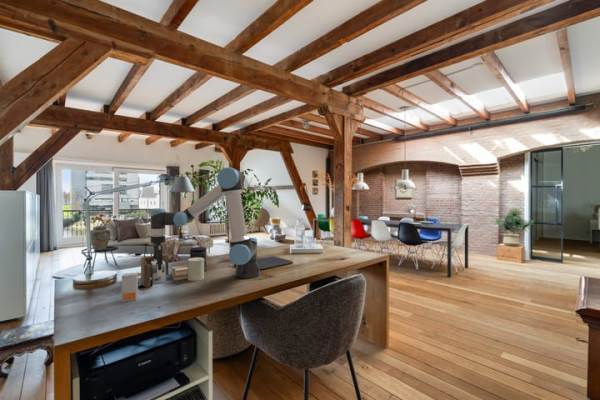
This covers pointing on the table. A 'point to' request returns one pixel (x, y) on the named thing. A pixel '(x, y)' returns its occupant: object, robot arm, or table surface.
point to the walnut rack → (147, 269)
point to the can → (195, 269)
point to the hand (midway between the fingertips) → (157, 272)
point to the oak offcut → (179, 276)
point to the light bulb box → (154, 273)
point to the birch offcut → (180, 270)
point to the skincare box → (129, 287)
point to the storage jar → (199, 254)
